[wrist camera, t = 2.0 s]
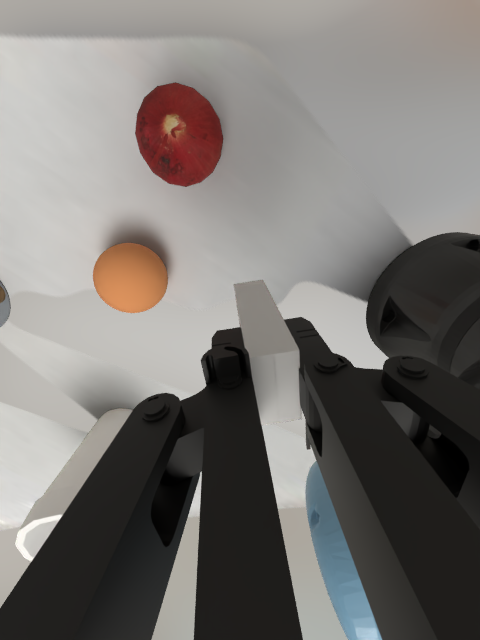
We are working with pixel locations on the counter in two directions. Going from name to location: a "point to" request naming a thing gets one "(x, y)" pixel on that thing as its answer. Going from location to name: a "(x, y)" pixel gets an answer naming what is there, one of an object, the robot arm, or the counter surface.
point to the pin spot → (4, 307)
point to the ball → (130, 277)
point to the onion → (179, 134)
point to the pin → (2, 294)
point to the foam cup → (68, 483)
